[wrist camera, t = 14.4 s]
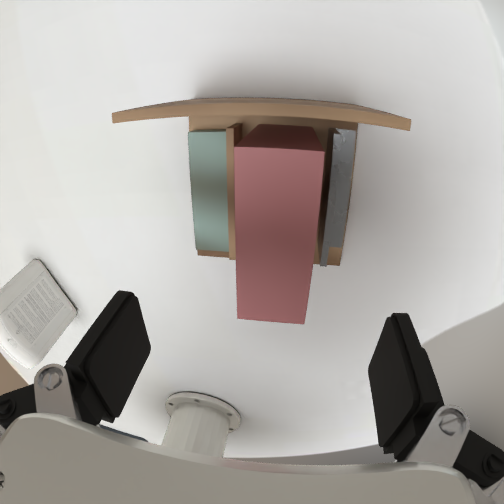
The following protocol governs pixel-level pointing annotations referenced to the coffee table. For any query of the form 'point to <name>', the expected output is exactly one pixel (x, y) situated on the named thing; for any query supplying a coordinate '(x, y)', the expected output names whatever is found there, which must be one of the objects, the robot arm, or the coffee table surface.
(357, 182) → the coffee table surface
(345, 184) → the bookend
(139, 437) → the phone case
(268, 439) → the coffee table surface
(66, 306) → the photo printer
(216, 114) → the shelf
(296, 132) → the book
